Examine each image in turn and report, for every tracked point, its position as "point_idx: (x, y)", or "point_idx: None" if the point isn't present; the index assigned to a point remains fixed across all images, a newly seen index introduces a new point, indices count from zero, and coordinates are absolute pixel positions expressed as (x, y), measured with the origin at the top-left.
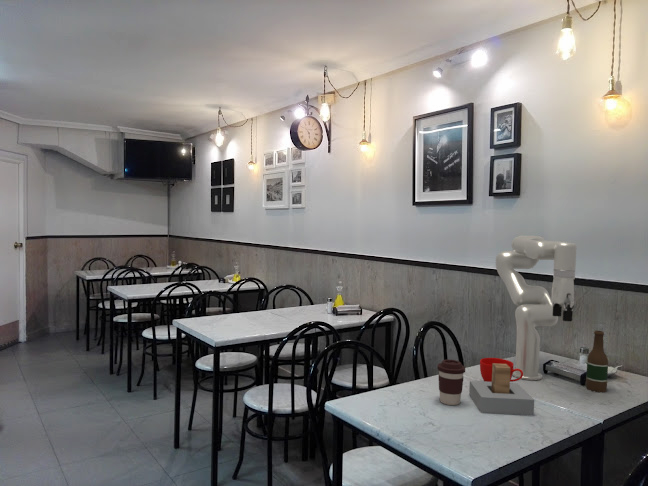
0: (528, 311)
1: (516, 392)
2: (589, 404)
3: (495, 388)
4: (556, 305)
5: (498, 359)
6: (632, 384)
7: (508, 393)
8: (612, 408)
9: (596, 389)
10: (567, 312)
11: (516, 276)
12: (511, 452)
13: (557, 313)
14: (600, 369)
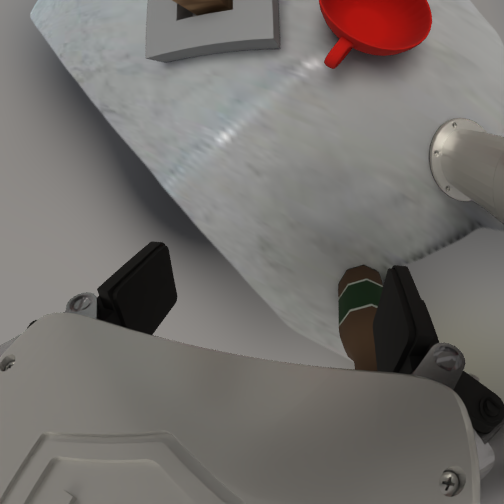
0: None
1: (188, 24)
2: (255, 213)
3: None
4: (405, 372)
5: (427, 29)
6: None
7: (189, 9)
8: (237, 250)
9: (343, 278)
10: (101, 301)
11: None
12: (56, 36)
13: (383, 314)
14: (341, 315)
